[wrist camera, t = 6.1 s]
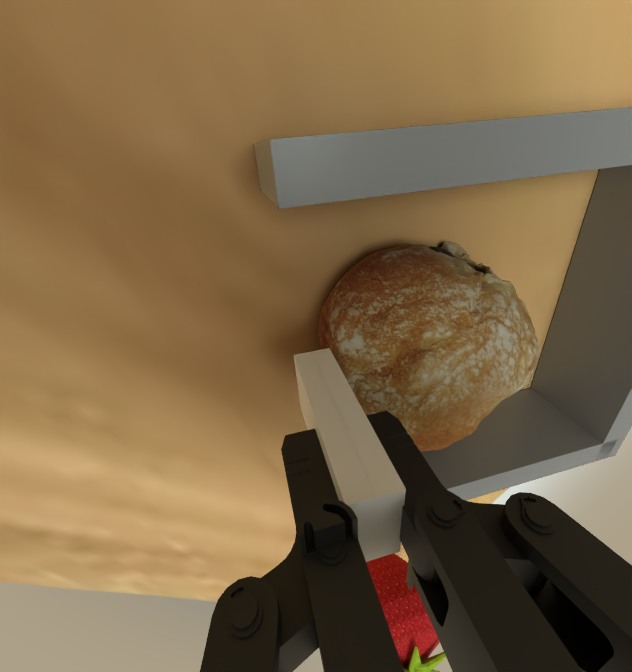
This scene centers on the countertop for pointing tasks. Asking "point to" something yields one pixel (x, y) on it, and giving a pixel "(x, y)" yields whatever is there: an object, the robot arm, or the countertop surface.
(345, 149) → the box
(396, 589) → the strawberry
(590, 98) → the countertop surface
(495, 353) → the bread roll
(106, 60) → the countertop surface
